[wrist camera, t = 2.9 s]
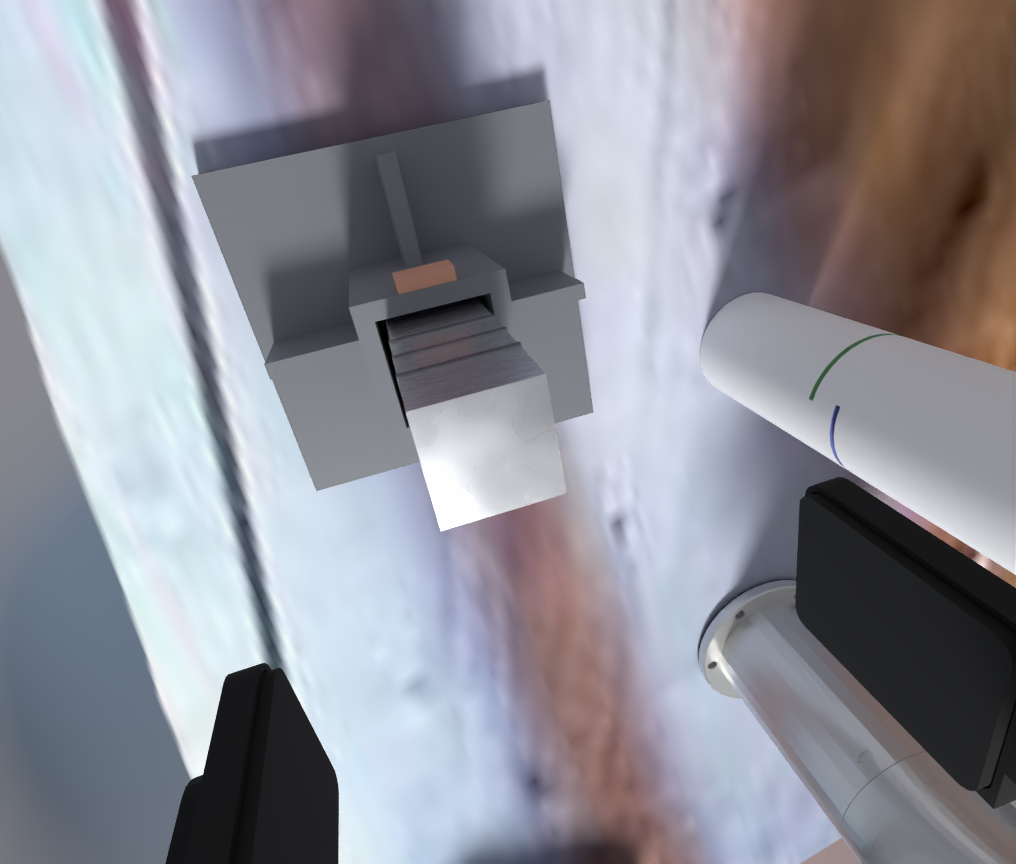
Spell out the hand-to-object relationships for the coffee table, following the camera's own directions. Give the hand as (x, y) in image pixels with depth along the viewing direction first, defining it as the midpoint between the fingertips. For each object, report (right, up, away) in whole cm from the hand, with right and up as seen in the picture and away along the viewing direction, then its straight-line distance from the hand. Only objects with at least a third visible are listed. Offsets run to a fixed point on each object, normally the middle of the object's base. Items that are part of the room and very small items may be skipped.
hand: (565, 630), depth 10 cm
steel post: (-6, +10, +23) cm, 26 cm away
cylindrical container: (+15, +10, +31) cm, 36 cm away
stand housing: (-6, +11, +25) cm, 28 cm away
